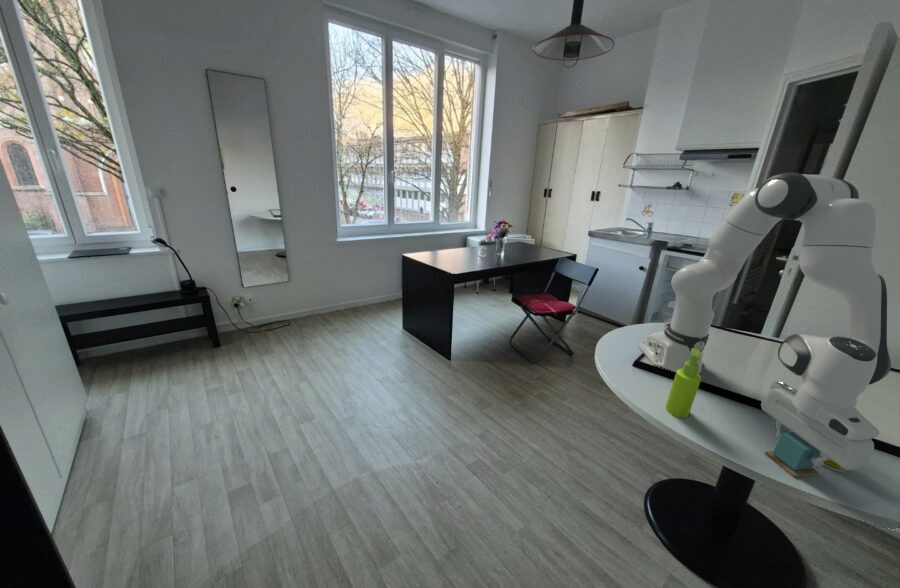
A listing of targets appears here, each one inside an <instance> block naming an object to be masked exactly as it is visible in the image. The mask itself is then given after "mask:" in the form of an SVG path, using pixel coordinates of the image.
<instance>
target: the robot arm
mask: <svg viewBox="0 0 900 588" xmlns="http://www.w3.org/2000/svg"><path fill="white" fill-rule="evenodd" d="M859 194H860V193H859V191H858V189H857V187H855V185H854V184H852V183H851V182H849V181H846V180H845V179H841V178H834V177H831V176H827V175H822V174H807V173H806V174H805V173H804V174H803V173H800V172H799V173H798V172H784V173H779V174H776V175H775V174H774V175H773V176H771V177H769V178H767V179H766V180H765V181H763V182H762V183H761V184H760V186H758V187H756V188H754V189H751V190H750V191H748V192H747V193H746V195H744V196H743V197H742V198H741V199H740V200H739V201H738V202H737V203H736V205H734V207H732V209H730V211H729V213H728V214H727V215H726V216H725V218H724V219H723V220H722V222H721V223H720V225H719V226H718V227H717V229H715V230H716V231H714V233H712V236H711V237H710V238H709V240H708V247H707V249H706V252H705V254H704V255H703V257H702V258H701V259H700V260H699V261H697V262H695V263H692V264H688V265H685V266H683V267H682V268H681V269H679V270H678V271H676V272H675V273H674V274H673V276H672V278H671V282H670V284H671V288H672V291H673V292H674V293H675V294H674V295H675V307H674V311H673V314H672V319H671V322H670V323H664V325H663V327H664V328H665V327H666V328H665V329H664V330H661V331H657V332H653V333H651V334H649V335H648V337H647V338H646V340H645V341H641V342H639V343H638V345H637V346H638V348H639V349H640V350H641V352H642V353H643V354H644V355H645V356H646V358H648V360H649V361H650V363H652V365H653V364H654V365H656V366H658V367H657V368H660V367H662V368H661V369H664V368H665V370H667V369H668V370H667V371H670V370H671V371H670V372H672V371H673V372H672V373H675V372H677V370H678V369H682V368H683V367H684V364H685V362H686V361H690V358H691V348H694V349H698V350H700V358H699V359H698V360H697V364H699V369H698V372H697V373H698V374H699V375H700V374H701V373H702V367H703V363H704V361H703V357H704V353H705V346H706V345H707V344H708V343H707V342H708V340H709V331H710V328H711V325H712V323H713V320H714V316H715V312H714V311H713V299H714V296H715V295H716V293H718V292H721V291H723V290H725V289H727V288H728V287H730V286H731V285H732V284H733V283H735V281H736V279H737V277H738V274H739V273H740V272H741V270H742V269H743V266H744V264H745V263H746V261H747V260H748V258H749V257H750V256H751V254H752V253H753V252H754V251H755V249H756V248H757V247H758V245H760V243H762V241H763V240H764V238H765V237H766V236H768V234H769V233H770V231H771V230H772V229H773V228H774V227H775V225H776V224H777V223H779V222H780V221H782V220H783V219H784V220H786V221H787V220H788V221H798V222H800V223H801V224H802V225H803V227H804V237H803V241H802V244H801V249H800V253H799V259H798V262H799V264H798V265H799V269H800V271H801V272H802V274H803V275H804V276H805V277H807V278H808V279H809V280H810V281H812V282H814V283H816V284H817V285H819V286H822V287H823V288H827V289H829V290H831V291H834V292H836V293H838V294H839V295H840V296H843V298H845V299H846V300H847V302H848V304H849V308H850V309H849V310H850V311H849V312H850V313H849V317H850V319H849V323H850V324H849V330H850V331H849V333H850V334H849V337H845V336H830V337H826V336H821V335H820V336H819V335H812V334H811V335H810V334H802V333H801V334H800V333H799V334H796V333H795V334H791V335H790V336H788V337H786V338H785V339H784V340H782V342H781V343H780V345H779V347H778V351H777V358H778V360H779V361H780V363H781V364H782V365H783V366H784V367H785V368H786V370H788V371H790V372H791V373H792V374H794V375H796V376H799V377H801V378H802V380H803V381H802V383H800V384H799V387H798V389H795V388H794V387H792V386H790V385H789V384H787V383H786V382H783V381H775V382H773V383H772V384H771V386H770V389H769V392H768V393H767V394H766V395H765V396H764V397H763V399H762V401H761V404H760V407H761V410H762V411H763V412H765V413H766V414H768V415H769V416H771V417H772V418H773V419H775V427H776V430H777V431H776V434H775V437H777V438H778V440H779V439H780V437H781V435H782V433H787V429H788V430H790V432H794V433H795V434H797V435H798V436H800V437H801V438H802V439H804V440H805V441H807V442H808V443H809V444H811V445H812V446H813V447H815V448H816V449H818V450H819V451H820V452H821V453H820V455H821V456H823V457H819V456H811V458H810V460H809V461H810V462H811V463H812V464H813V465H814V467H818V468H819V467H822V466H824V465H823V463H824V461H827V460H833V461H834V462H836V463H837V464H839V465H840V466H841V467H843V468H844V469H846V470H847V471H857V470H858V471H859V470H863V469H865V468H866V467H867V466H868V464H869V462H870V460H871V458H872V456H873V454H874V451H875V443H874V442H873V440H872V439H875V438H878V437H879V436H880V430H879V429H878V428H877V427H876V426H875V425H874V424H873V423H872V422H870V421H869V420H868V419H867V418H866V417H865V416H864V415H863V414H862V413H861V412H860V411H859V410H858V409H857V408H856V407H857V403H858V398H859V396H860V395H861V394H862V393H863V392H865V391H866V389H867V387H868V386H869V385H873V384H875V383H877V382H879V381H881V380H882V379H884V378H885V377H887V376H888V375H889V373H890V371H891V369H892V368H891V367H892V362H891V356H890V354H889V349H888V336H887V335H888V291H887V283H886V281H885V278H884V277H883V276H882V275H880V274H878V273H877V272H876V271H877V270H876V269H875V268H874V264H873V260H872V258H873V256H872V255H873V248H874V244H875V239H876V227H877V226H876V225H877V223H876V222H877V221H876V219H877V217H876V209H875V207H874V205H873V204H872V203H870V202H869V201H867V200H863V199H859V198H860V196H859ZM654 365H653V366H654ZM656 366H655V367H656ZM846 470H845V471H846Z"/></svg>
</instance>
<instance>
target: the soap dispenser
mask: <svg viewBox="0 0 900 588" xmlns="http://www.w3.org/2000/svg"><path fill="white" fill-rule="evenodd" d="M699 358H700V350H698V349H694V348H691V358H690V361H686V362H685V364H684V367H683V368H682V369H678V370H677V372H676V373H675V375H674V377H673V378H674V379H673V382H672V386H671V388H670V390H669V391H670V392H669V393H668V394H669V395H668V398H667V401H666V405H665V409H666V411H667V413H669V414H671V415H673V416H675V417H678V418H683V419H684V418H688V417H689V414H690V412H691V409H692V406H693V404H694V400H695V398H696V395H697V392H698V389H699V386H700V383H701V380H702V376H701V375H700V373H699V374H698V373H697V372H698V369H699V364H697V360H698V359H699Z"/></svg>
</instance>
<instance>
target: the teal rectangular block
mask: <svg viewBox="0 0 900 588" xmlns="http://www.w3.org/2000/svg"><path fill="white" fill-rule="evenodd" d="M786 432H787V431H786ZM772 451H773V454H774V455H776V456H777V457H778V458H779V459H781V460H782V461H783V462H784V463H785V464H787V465H788V466H789V467H790V468H792V469H793V470H802V469H810V468H814V467H815V465H813V464H812V463H811V462H810V461H809V460H810V458H811V456H820V453H821V452H820V451H819V450H818V449H816V448H815V447H813V446H812V445H811V444H809V443H808V442H807V441H805V440H804V439H802V438H801V437H800V436H798V435H797V434H795V433H794V432H793V431H790V432H789V431H788V432H787V433H782V435H781V437H780V439H779V438H778V441H777V443H776V445H775V446H774V449H773V450H772Z"/></svg>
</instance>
